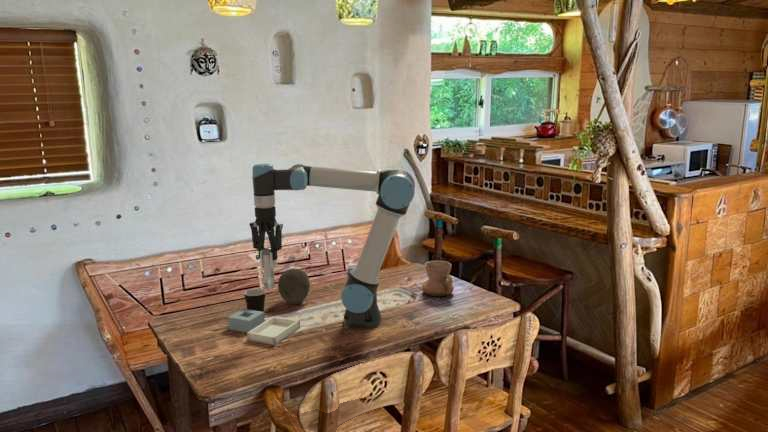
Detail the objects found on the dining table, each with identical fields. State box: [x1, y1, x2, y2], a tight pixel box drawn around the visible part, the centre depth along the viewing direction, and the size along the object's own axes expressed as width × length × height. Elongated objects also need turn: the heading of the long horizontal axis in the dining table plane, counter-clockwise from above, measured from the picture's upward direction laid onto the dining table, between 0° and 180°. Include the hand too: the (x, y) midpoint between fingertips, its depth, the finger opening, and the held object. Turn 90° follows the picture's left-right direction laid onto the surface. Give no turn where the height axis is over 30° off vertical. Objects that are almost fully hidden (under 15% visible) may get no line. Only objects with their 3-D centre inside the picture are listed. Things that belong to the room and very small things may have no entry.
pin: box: [263, 247, 275, 290], centre depth 222 cm, size 4×4×15 cm
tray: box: [246, 316, 301, 346], centre depth 226 cm, size 12×18×3 cm, turn 157°
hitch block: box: [227, 308, 266, 333], centre depth 233 cm, size 10×10×5 cm
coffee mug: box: [243, 288, 267, 313], centre depth 245 cm, size 12×9×10 cm
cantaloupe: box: [277, 268, 311, 305], centre depth 259 cm, size 14×14×15 cm
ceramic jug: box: [421, 260, 455, 297], centre depth 269 cm, size 18×14×14 cm
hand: (268, 267), depth 222 cm, fingers closed on pin, 4 cm apart
